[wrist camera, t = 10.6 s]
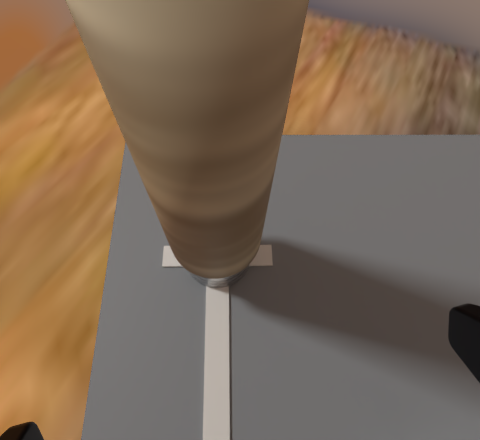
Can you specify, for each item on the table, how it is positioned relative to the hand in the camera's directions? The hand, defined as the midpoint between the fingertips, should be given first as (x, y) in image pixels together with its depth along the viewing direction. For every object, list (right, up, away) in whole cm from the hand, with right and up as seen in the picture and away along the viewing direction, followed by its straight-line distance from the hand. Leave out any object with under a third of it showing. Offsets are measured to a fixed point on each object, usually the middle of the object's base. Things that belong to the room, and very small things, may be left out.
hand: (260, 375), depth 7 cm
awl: (-1, +2, +9) cm, 9 cm away
